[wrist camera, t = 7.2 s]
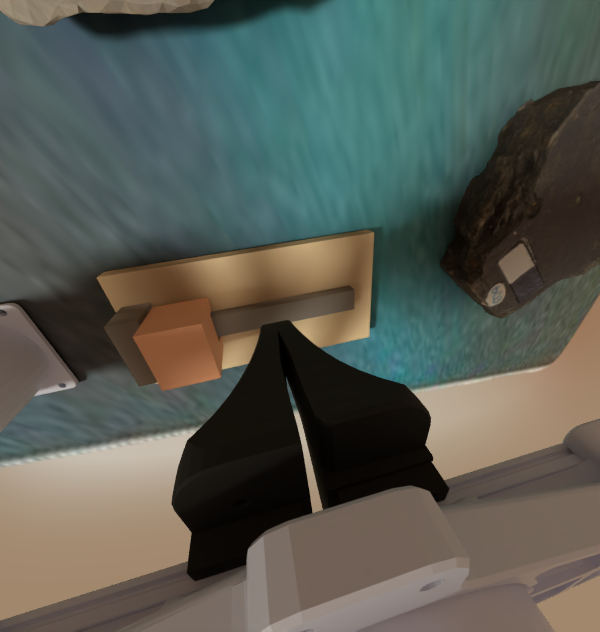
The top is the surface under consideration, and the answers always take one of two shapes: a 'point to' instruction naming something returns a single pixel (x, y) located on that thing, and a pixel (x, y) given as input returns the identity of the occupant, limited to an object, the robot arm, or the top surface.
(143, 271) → the rail board
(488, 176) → the rock sample
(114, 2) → the stone tool
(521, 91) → the top surface
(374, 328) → the top surface
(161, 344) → the slider block
